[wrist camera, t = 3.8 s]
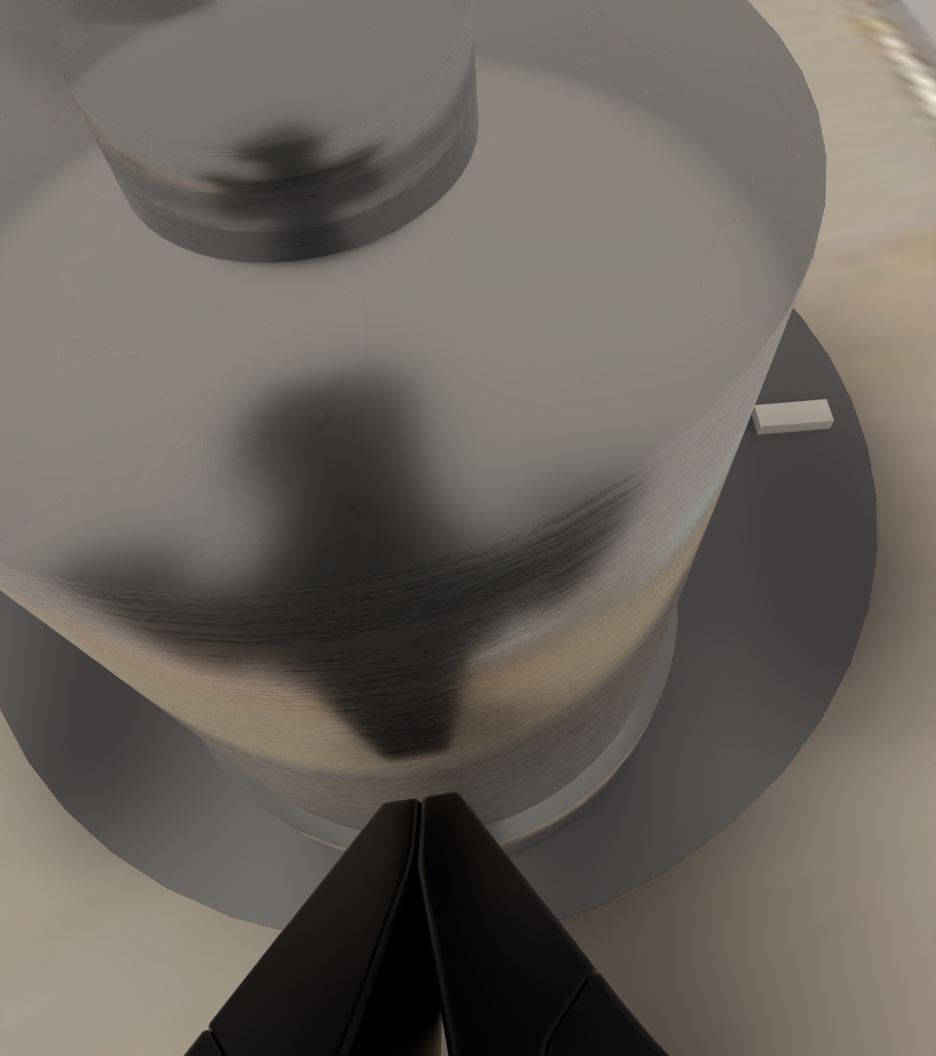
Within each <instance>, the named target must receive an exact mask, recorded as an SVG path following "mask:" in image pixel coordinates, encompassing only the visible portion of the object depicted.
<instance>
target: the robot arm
mask: <svg viewBox="0 0 936 1056" xmlns="http://www.w3.org/2000/svg"><path fill="white" fill-rule="evenodd" d="M442 1021H443V1027H444V1033H445V1038H446V1044H447V1050H448V1055H449V1056H669V1055H668V1054H667V1053H666V1052H665V1051H664V1050H663V1049H662V1048H661V1047H660V1045H659V1044H658V1043H657V1042H656V1041H655V1040H654V1039H653V1038H652V1037H651V1035H650V1034H649V1033H648V1032H647V1031H646V1029H645V1028H644V1027H643V1026H642V1025H641V1024H640V1022H639V1021H638V1020H637V1019H636V1018H635V1016H634V1015H633V1014H632V1013H631V1012H630V1010H629V1009H628V1008H627V1007H626V1006H625V1005H624V1003H623V1002H622V1001H621V1000H620V998H619V997H618V996H617V995H616V993H615V992H614V991H613V989H612V988H611V987H610V986H609V984H608V983H607V982H606V980H605V979H604V978H603V977H602V975H601V974H599V973H597V971H596V968H595V967H594V966H593V964H592V963H591V962H590V960H589V959H588V958H587V957H586V955H585V954H584V953H583V951H582V950H581V949H580V948H579V946H578V945H577V944H576V942H575V941H574V940H573V939H572V937H571V936H570V935H569V933H568V932H567V931H566V930H565V928H564V927H563V926H562V925H561V923H560V922H559V921H558V919H557V918H556V917H555V916H554V914H553V913H552V912H551V910H550V909H549V908H548V907H547V905H546V904H545V903H544V901H543V900H542V899H541V898H540V896H539V895H538V894H537V892H536V891H535V890H534V889H533V887H532V886H531V885H530V883H529V882H528V881H527V880H526V878H525V877H524V876H523V874H522V873H521V872H520V871H519V869H518V868H517V867H516V865H515V864H514V863H513V862H512V860H511V859H510V858H509V856H508V855H507V854H506V853H505V851H504V850H503V849H502V847H501V846H500V845H499V844H498V842H497V841H496V840H495V838H494V837H493V836H492V835H491V833H490V832H489V831H488V829H487V828H486V827H485V826H484V824H483V823H482V822H481V820H480V819H479V818H478V817H477V815H476V814H475V813H474V811H473V810H472V809H471V808H470V806H469V805H468V804H467V803H466V801H465V800H464V799H463V797H462V796H461V795H460V794H458V793H456V792H452V793H445V794H439V795H432V796H427V797H425V798H424V799H423V800H422V803H421V802H420V800H419V799H417V798H412V799H405V800H398V801H391V802H386V803H384V804H383V805H381V806H380V808H379V809H378V810H377V811H376V813H375V814H374V815H373V817H372V818H371V819H370V820H369V822H368V823H367V824H366V825H365V827H364V828H363V829H362V830H361V832H360V833H359V834H358V836H357V837H356V838H355V839H354V841H353V842H352V843H351V844H350V846H349V847H348V848H347V850H346V851H345V852H344V853H343V855H342V856H341V857H340V858H339V860H338V861H337V862H336V863H335V865H334V866H333V867H332V869H331V870H330V871H329V872H328V874H327V875H326V876H325V877H324V879H323V880H322V881H321V883H320V884H319V885H318V886H317V888H316V889H315V890H314V891H313V893H312V894H311V895H310V897H309V898H308V899H307V900H306V902H305V903H304V904H303V905H302V907H301V908H300V909H299V910H298V912H297V913H296V914H295V916H294V917H293V918H292V919H291V921H290V922H289V923H288V924H287V926H286V927H285V928H284V930H283V931H282V932H281V933H280V935H279V936H278V937H277V938H276V940H275V941H274V942H273V943H272V945H271V946H270V947H269V949H268V950H267V951H266V952H265V954H264V955H263V956H262V957H261V959H260V960H259V961H258V963H257V964H256V965H255V966H254V968H253V969H252V970H251V971H250V973H249V974H248V975H247V976H246V978H245V979H244V980H243V982H242V983H241V984H240V985H239V987H238V988H237V989H236V990H235V992H234V993H233V994H232V996H231V997H230V998H229V999H228V1001H227V1002H226V1003H225V1004H224V1006H223V1007H222V1008H221V1009H220V1011H219V1012H218V1013H217V1015H216V1016H215V1017H214V1018H213V1020H212V1021H211V1022H210V1024H209V1031H208V1030H205V1031H203V1032H202V1033H201V1034H200V1036H199V1037H198V1038H197V1039H196V1041H195V1042H194V1043H193V1045H192V1046H191V1047H190V1048H189V1050H188V1051H187V1052H186V1053H185V1055H184V1056H441V1034H442Z"/></svg>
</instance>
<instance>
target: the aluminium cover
mask: <svg viewBox="0 0 936 1056" xmlns="http://www.w3.org/2000/svg"><path fill="white" fill-rule="evenodd" d="M825 189H826V152H825V147H824V141H823V136H822V130H821V125H820V119H819V114H818V110H817V108H816V105H815V103H814V100H813V98H812V95H811V93H810V91H809V88H808V86H807V83H806V81H805V78H804V76H803V73H802V71H801V69H800V68H799V66H798V65H797V63H796V61H795V60H794V58H793V57H792V55H791V54H790V52H789V50H788V49H787V47H786V46H785V44H784V43H783V41H782V40H781V38H780V36H779V35H778V34H777V32H776V31H775V30H774V29H773V28H772V27H771V26H770V25H769V24H768V23H767V21H766V20H765V19H764V18H763V17H762V16H761V15H760V14H759V13H758V12H757V10H756V9H755V8H754V7H753V6H752V5H751V4H750V3H749V2H748V1H747V0H0V590H1V591H2V592H3V593H5V594H6V595H7V596H9V597H10V598H11V599H13V600H14V601H16V602H17V603H18V604H20V605H21V606H22V607H24V608H25V609H26V610H28V611H29V612H30V613H32V614H33V615H35V616H36V617H37V618H39V619H40V620H41V621H43V622H44V623H45V624H47V625H48V626H49V627H51V628H52V629H54V630H55V631H56V632H58V633H59V634H60V635H62V636H63V637H64V638H66V639H67V640H68V641H70V642H71V643H73V644H74V645H75V646H77V647H78V648H79V649H81V650H82V651H83V652H85V653H86V654H87V655H89V656H90V657H92V658H93V659H94V660H96V661H97V662H98V663H100V664H101V665H102V666H104V667H105V668H106V669H108V670H109V671H111V672H112V673H113V674H115V675H116V676H117V677H119V678H120V679H121V680H123V681H124V682H125V683H127V684H128V685H130V686H131V687H132V688H134V689H135V690H136V691H138V692H139V693H140V694H142V695H143V696H145V697H146V698H147V699H149V700H150V701H151V702H153V703H154V704H155V705H157V706H158V707H159V708H161V709H162V710H164V711H165V712H166V713H168V714H169V715H170V716H172V717H173V718H174V719H176V720H177V721H178V722H180V723H181V724H183V725H184V726H185V727H187V728H188V729H189V730H191V731H192V732H193V733H195V734H196V735H197V736H199V737H200V738H201V739H202V741H203V742H204V744H205V745H206V747H207V748H208V750H209V751H210V753H211V754H212V756H213V757H214V759H215V760H216V762H217V764H218V765H219V767H220V768H221V769H222V770H223V771H224V772H225V773H226V774H227V775H228V777H229V778H230V779H231V780H232V781H233V782H234V783H235V784H236V785H237V787H238V788H239V789H240V790H241V791H242V792H243V793H244V794H246V795H247V796H248V797H249V798H251V799H252V800H253V801H254V802H255V803H257V804H258V805H259V806H260V807H262V808H263V809H264V810H265V811H267V812H268V813H269V814H271V815H272V816H274V817H275V818H277V819H278V820H280V821H282V822H283V823H285V824H286V825H288V826H289V827H291V828H293V829H294V830H296V831H297V832H299V833H300V834H302V835H304V836H305V837H307V838H309V839H311V840H312V841H314V842H316V843H317V844H319V845H321V846H322V847H324V848H326V849H328V850H330V851H333V852H335V853H338V854H340V855H343V853H344V852H345V851H346V850H347V848H348V847H349V846H350V844H351V843H352V842H353V841H354V839H355V838H356V837H357V836H358V834H359V833H360V832H361V830H362V829H363V828H364V827H365V825H366V824H367V823H368V822H369V820H370V819H371V818H372V817H373V815H374V814H375V813H376V811H377V810H378V809H379V808H380V806H381V805H383V804H384V803H386V802H391V801H398V800H405V799H412V798H417V799H419V800H420V802H421V803H422V800H423V799H424V798H425V797H427V796H432V795H439V794H445V793H452V792H456V793H458V794H460V795H461V796H462V797H463V799H464V800H465V801H466V803H467V804H468V805H469V806H470V808H471V809H472V810H473V811H474V813H475V814H476V815H477V817H478V818H479V819H480V820H481V822H482V823H483V824H484V826H485V827H486V828H487V829H488V831H489V832H490V833H491V835H492V836H493V837H494V838H495V840H496V841H497V842H498V844H499V845H500V846H501V847H502V849H503V850H504V851H505V853H506V854H507V855H508V856H509V857H512V856H515V855H518V854H521V853H523V852H525V851H527V850H529V849H531V848H533V847H534V846H536V845H538V844H540V843H542V842H544V841H546V840H548V839H550V838H552V837H553V836H555V835H556V834H558V833H559V832H560V831H562V830H563V829H565V828H566V827H568V826H569V825H571V824H572V823H573V822H575V821H576V820H578V819H579V818H580V817H581V816H582V815H583V814H584V813H585V812H586V811H588V810H589V809H590V808H591V807H592V806H593V805H594V804H595V803H596V802H597V801H598V800H599V799H601V798H602V796H603V795H604V794H605V793H606V792H607V790H608V789H609V788H610V787H611V785H612V784H613V783H614V782H615V781H616V779H617V778H618V777H619V776H620V774H621V773H622V772H623V770H624V768H625V767H626V765H627V764H628V762H629V760H630V759H631V757H632V755H633V754H634V752H635V750H636V749H637V747H638V745H639V743H640V741H641V739H642V737H643V734H644V732H645V730H646V728H647V726H648V724H649V721H650V719H651V717H652V715H653V713H654V710H655V708H656V706H657V703H658V701H659V699H660V696H661V694H662V692H663V689H664V687H665V685H666V681H667V677H668V674H669V670H670V666H671V662H672V659H673V655H674V650H675V641H676V632H677V623H678V611H677V603H678V600H679V598H680V595H681V592H682V590H683V587H684V585H685V582H686V580H687V577H688V575H689V572H690V569H691V567H692V564H693V562H694V559H695V557H696V554H697V552H698V549H699V546H700V544H701V541H702V539H703V536H704V534H705V531H706V529H707V526H708V523H709V521H710V518H711V516H712V513H713V511H714V508H715V506H716V503H717V500H718V498H719V495H720V493H721V490H722V488H723V485H724V483H725V480H726V477H727V475H728V472H729V470H730V467H731V465H732V462H733V460H734V457H735V454H736V452H737V449H738V447H739V444H740V442H741V439H742V437H743V434H744V431H745V429H746V426H747V424H748V421H749V419H750V416H751V414H752V411H753V408H754V406H755V403H756V401H757V398H758V396H759V393H760V391H761V388H762V385H763V383H764V380H765V378H766V375H767V373H768V370H769V368H770V365H771V363H772V360H773V357H774V355H775V352H776V350H777V347H778V345H779V342H780V340H781V337H782V334H783V332H784V329H785V327H786V324H787V322H788V319H789V317H790V314H791V311H792V309H793V306H794V304H795V301H796V299H797V296H798V294H799V291H800V288H801V286H802V283H803V281H804V278H805V276H806V273H807V271H808V268H809V265H810V263H811V260H812V258H813V254H814V250H815V246H816V242H817V237H818V233H819V229H820V225H821V220H822V216H823V212H824V208H825Z"/></svg>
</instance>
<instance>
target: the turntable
mask: <svg viewBox="0 0 936 1056" xmlns="http://www.w3.org/2000/svg"><path fill="white" fill-rule="evenodd" d="M876 553H877V531H876V494H875V489H874V483H873V477H872V471H871V465H870V460H869V454H868V448H867V445H866V442H865V439H864V436H863V433H862V430H861V427H860V424H859V421H858V418H857V415H856V412H855V409H854V406H853V403H852V400H851V398H850V396H849V394H848V392H847V390H846V388H845V386H844V384H843V383H842V381H841V379H840V377H839V375H838V373H837V371H836V369H835V367H834V365H833V363H832V361H831V359H830V357H829V356H828V354H827V353H826V351H825V350H824V349H823V347H822V346H821V344H820V343H819V341H818V340H817V339H816V337H815V336H814V334H813V333H812V331H811V330H810V329H809V327H808V326H807V324H806V323H805V322H804V320H803V319H802V317H801V316H800V315H799V314H798V313H797V312H796V311H795V310H794V309H792V311H791V314H790V317H789V319H788V322H787V324H786V327H785V329H784V332H783V334H782V337H781V340H780V342H779V345H778V347H777V350H776V352H775V355H774V357H773V360H772V363H771V365H770V368H769V370H768V373H767V375H766V378H765V380H764V383H763V385H762V388H761V391H760V393H759V396H758V398H757V401H756V403H755V406H754V408H753V411H752V414H751V416H750V419H749V421H748V424H747V426H746V429H745V431H744V434H743V437H742V439H741V442H740V444H739V447H738V449H737V452H736V454H735V457H734V460H733V462H732V465H731V467H730V470H729V472H728V475H727V477H726V480H725V483H724V485H723V488H722V490H721V493H720V495H719V498H718V500H717V503H716V506H715V508H714V511H713V513H712V516H711V518H710V521H709V523H708V526H707V529H706V531H705V534H704V536H703V539H702V541H701V544H700V546H699V549H698V552H697V554H696V557H695V559H694V562H693V564H692V567H691V569H690V572H689V575H688V577H687V580H686V582H685V585H684V587H683V590H682V592H681V595H680V598H679V600H678V603H677V611H678V623H677V632H676V641H675V650H674V655H673V659H672V662H671V666H670V670H669V674H668V677H667V681H666V685H665V687H664V689H663V692H662V694H661V696H660V699H659V701H658V703H657V706H656V708H655V710H654V713H653V715H652V717H651V719H650V721H649V724H648V726H647V728H646V730H645V732H644V734H643V737H642V739H641V741H640V743H639V745H638V747H637V749H636V750H635V752H634V754H633V755H632V757H631V759H630V760H629V762H628V764H627V765H626V767H625V768H624V770H623V772H622V773H621V774H620V776H619V777H618V778H617V779H616V781H615V782H614V783H613V784H612V785H611V787H610V788H609V789H608V790H607V792H606V793H605V794H604V795H603V796H602V798H601V799H599V800H598V801H597V802H596V803H595V804H594V805H593V806H592V807H591V808H590V809H589V810H588V811H586V812H585V813H584V814H583V815H582V816H581V817H580V818H579V819H578V820H576V821H575V822H573V823H572V824H571V825H569V826H568V827H566V828H565V829H563V830H562V831H560V832H559V833H558V834H556V835H555V836H553V837H552V838H550V839H548V840H546V841H544V842H542V843H540V844H538V845H536V846H534V847H533V848H531V849H529V850H527V851H525V852H523V853H521V854H518V855H515V856H512V857H509V858H510V859H511V860H512V862H513V863H514V864H515V865H516V867H517V868H518V869H519V871H520V872H521V873H522V874H523V876H524V877H525V878H526V880H527V881H528V882H529V883H530V885H531V886H532V887H533V889H534V890H535V891H536V892H537V894H538V895H539V896H540V898H541V899H542V900H543V901H544V903H545V904H546V905H547V907H548V908H549V909H550V910H551V912H552V913H553V914H554V916H555V917H556V918H557V919H558V920H560V919H562V918H565V917H568V916H571V915H574V914H577V913H580V912H583V911H585V910H588V909H591V908H594V907H597V906H600V905H602V904H604V903H606V902H608V901H610V900H612V899H614V898H616V897H618V896H620V895H622V894H624V893H625V892H627V891H629V890H631V889H633V888H635V887H637V886H639V885H641V884H643V883H645V882H647V881H648V880H650V879H652V878H654V877H656V876H658V875H660V874H662V873H664V872H666V871H667V870H668V869H670V868H671V867H673V866H674V865H675V864H677V863H678V862H679V861H681V860H682V859H684V858H685V857H686V856H688V855H689V854H690V853H692V852H693V851H695V850H696V849H697V848H699V847H700V846H701V845H703V844H704V843H706V842H707V841H708V840H710V839H711V838H712V837H714V836H715V835H717V834H718V833H719V832H721V831H722V830H723V829H725V828H726V827H727V826H729V825H730V824H731V823H732V822H733V821H734V820H735V819H736V818H737V817H738V816H739V815H740V814H741V813H742V812H743V811H744V810H745V809H746V808H747V807H748V806H749V805H750V804H751V803H752V802H753V801H754V800H755V799H756V798H757V797H759V796H760V795H761V794H762V793H763V792H764V791H765V790H766V789H767V788H768V787H769V786H770V785H771V784H772V783H773V782H774V781H775V780H776V779H777V778H778V777H779V776H780V775H781V774H782V772H783V771H784V770H785V768H786V767H787V766H788V764H789V763H790V762H791V760H792V759H793V757H794V756H795V755H796V753H797V752H798V751H799V749H800V748H801V747H802V745H803V744H804V743H805V741H806V740H807V738H808V737H809V736H810V734H811V733H812V732H813V730H814V729H815V728H816V726H817V725H818V723H819V722H820V721H821V719H822V717H823V715H824V713H825V711H826V709H827V707H828V706H829V704H830V702H831V700H832V698H833V696H834V694H835V692H836V690H837V688H838V686H839V684H840V682H841V680H842V678H843V676H844V675H845V673H846V671H847V669H848V667H849V665H850V662H851V659H852V656H853V653H854V650H855V647H856V644H857V641H858V638H859V634H860V631H861V628H862V625H863V622H864V619H865V616H866V613H867V610H868V606H869V599H870V593H871V586H872V580H873V573H874V566H875V560H876ZM0 708H1V711H2V713H3V715H4V717H5V719H6V721H7V722H8V724H9V726H10V728H11V730H12V732H13V734H14V736H15V738H16V739H17V741H18V743H19V745H20V747H21V749H22V751H23V753H24V755H25V756H26V758H27V760H28V762H29V763H30V764H31V766H32V767H33V768H34V770H35V771H36V772H37V774H38V775H39V776H40V777H41V779H42V780H43V781H44V783H45V784H46V785H47V786H48V788H49V789H50V790H51V792H52V793H53V794H54V796H55V797H56V798H57V799H58V801H59V802H60V803H61V805H62V806H63V807H64V809H65V810H66V811H68V812H69V813H70V814H71V815H72V816H73V817H74V818H75V819H76V820H77V821H78V822H80V823H81V824H82V825H83V826H84V827H85V828H86V829H87V830H88V831H89V832H90V833H91V834H93V835H94V836H95V837H96V838H97V839H98V840H99V841H100V842H101V843H102V844H103V845H104V846H106V847H107V848H108V849H109V850H110V851H111V852H112V853H114V854H115V855H117V856H118V857H120V858H121V859H123V860H124V861H126V862H128V863H129V864H131V865H132V866H134V867H135V868H137V869H138V870H140V871H141V872H143V873H144V874H146V875H147V876H149V877H151V878H152V879H154V880H155V881H157V882H158V883H160V884H161V885H163V886H164V887H166V888H167V889H170V890H172V891H174V892H176V893H179V894H181V895H183V896H185V897H188V898H190V899H192V900H194V901H197V902H199V903H201V904H203V905H206V906H208V907H210V908H212V909H215V910H217V911H219V912H222V913H224V914H226V915H228V916H231V917H233V918H237V919H241V920H245V921H248V922H252V923H256V924H260V925H263V926H267V927H271V928H275V929H278V930H282V931H283V930H284V928H285V927H286V926H287V924H288V923H289V922H290V921H291V919H292V918H293V917H294V916H295V914H296V913H297V912H298V910H299V909H300V908H301V907H302V905H303V904H304V903H305V902H306V900H307V899H308V898H309V897H310V895H311V894H312V893H313V891H314V890H315V889H316V888H317V886H318V885H319V884H320V883H321V881H322V880H323V879H324V877H325V876H326V875H327V874H328V872H329V871H330V870H331V869H332V867H333V866H334V865H335V863H336V862H337V861H338V860H339V858H340V857H341V856H342V855H340V854H338V853H335V852H333V851H330V850H328V849H326V848H324V847H322V846H321V845H319V844H317V843H316V842H314V841H312V840H311V839H309V838H307V837H305V836H304V835H302V834H300V833H299V832H297V831H296V830H294V829H293V828H291V827H289V826H288V825H286V824H285V823H283V822H282V821H280V820H278V819H277V818H275V817H274V816H272V815H271V814H269V813H268V812H267V811H265V810H264V809H263V808H262V807H260V806H259V805H258V804H257V803H255V802H254V801H253V800H252V799H251V798H249V797H248V796H247V795H246V794H244V793H243V792H242V791H241V790H240V789H239V788H238V787H237V785H236V784H235V783H234V782H233V781H232V780H231V779H230V778H229V777H228V775H227V774H226V773H225V772H224V771H223V770H222V769H221V768H220V767H219V765H218V764H217V762H216V760H215V759H214V757H213V756H212V754H211V753H210V751H209V750H208V748H207V747H206V745H205V744H204V742H203V741H202V739H201V738H200V737H199V736H197V735H196V734H195V733H193V732H192V731H191V730H189V729H188V728H187V727H185V726H184V725H183V724H181V723H180V722H178V721H177V720H176V719H174V718H173V717H172V716H170V715H169V714H168V713H166V712H165V711H164V710H162V709H161V708H159V707H158V706H157V705H155V704H154V703H153V702H151V701H150V700H149V699H147V698H146V697H145V696H143V695H142V694H140V693H139V692H138V691H136V690H135V689H134V688H132V687H131V686H130V685H128V684H127V683H125V682H124V681H123V680H121V679H120V678H119V677H117V676H116V675H115V674H113V673H112V672H111V671H109V670H108V669H106V668H105V667H104V666H102V665H101V664H100V663H98V662H97V661H96V660H94V659H93V658H92V657H90V656H89V655H87V654H86V653H85V652H83V651H82V650H81V649H79V648H78V647H77V646H75V645H74V644H73V643H71V642H70V641H68V640H67V639H66V638H64V637H63V636H62V635H60V634H59V633H58V632H56V631H55V630H54V629H52V628H51V627H49V626H48V625H47V624H45V623H44V622H43V621H41V620H40V619H39V618H37V617H36V616H35V615H33V614H32V613H30V612H29V611H28V610H26V609H25V608H24V607H22V606H21V605H20V604H18V603H17V602H16V601H14V600H13V599H11V598H10V597H9V596H7V595H6V594H5V593H3V592H2V591H1V590H0Z"/></svg>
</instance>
